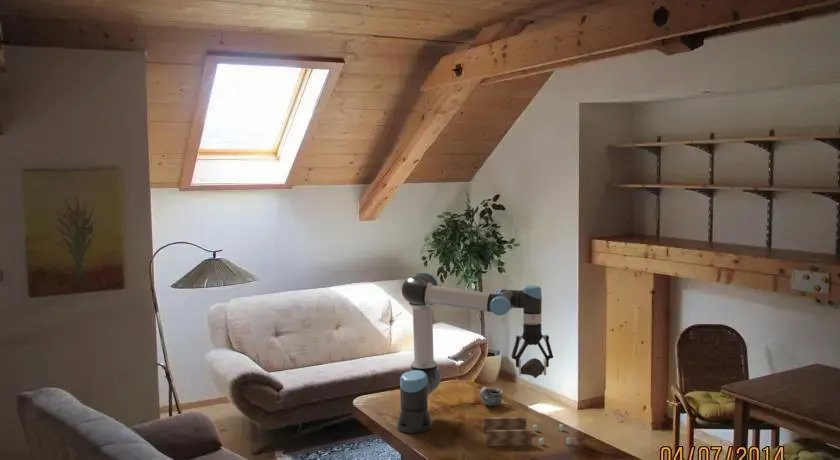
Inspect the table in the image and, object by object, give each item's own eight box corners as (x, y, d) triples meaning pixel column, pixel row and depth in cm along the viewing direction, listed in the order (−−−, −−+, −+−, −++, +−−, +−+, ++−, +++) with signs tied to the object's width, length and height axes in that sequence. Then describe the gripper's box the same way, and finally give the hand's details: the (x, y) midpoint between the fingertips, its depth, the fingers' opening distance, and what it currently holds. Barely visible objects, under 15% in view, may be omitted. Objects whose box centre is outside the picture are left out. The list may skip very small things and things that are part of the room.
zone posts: (539, 445, 301) (539, 439, 301) (533, 430, 317) (533, 424, 317) (571, 444, 301) (571, 439, 301) (563, 429, 317) (563, 424, 317)
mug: (505, 404, 351) (505, 383, 350) (493, 412, 340) (493, 390, 339) (487, 400, 356) (487, 380, 355) (474, 408, 345) (474, 387, 344)
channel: (486, 446, 301) (486, 431, 300) (483, 431, 317) (483, 417, 316) (531, 445, 301) (531, 430, 300) (525, 430, 317) (525, 416, 316)
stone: (521, 386, 314) (536, 373, 308) (513, 368, 318) (527, 355, 313) (537, 385, 320) (552, 372, 314) (528, 367, 325) (543, 355, 319)
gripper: (506, 325, 311) (506, 377, 313) (560, 324, 311) (560, 376, 313) (504, 321, 318) (504, 372, 320) (557, 320, 318) (557, 371, 320)
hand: (532, 374), depth 317 cm, fingers closed on stone, 10 cm apart
